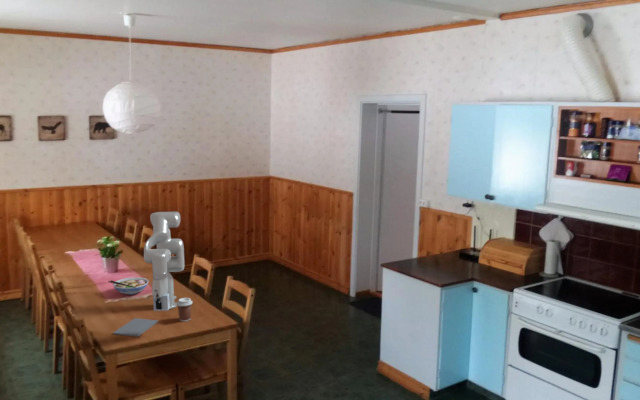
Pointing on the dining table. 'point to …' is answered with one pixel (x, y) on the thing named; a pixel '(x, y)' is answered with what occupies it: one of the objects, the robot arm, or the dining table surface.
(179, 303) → the coffee cup
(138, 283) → the ramen bowl
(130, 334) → the mat
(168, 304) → the medicine box
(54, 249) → the dining table surface
